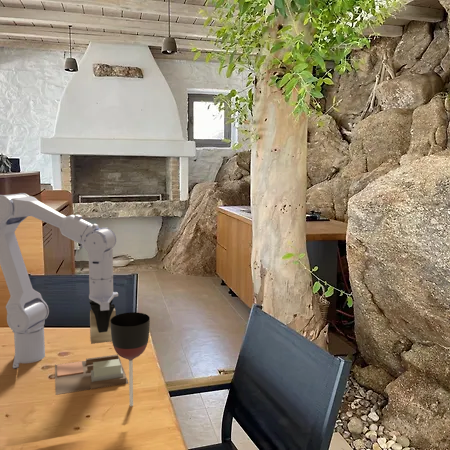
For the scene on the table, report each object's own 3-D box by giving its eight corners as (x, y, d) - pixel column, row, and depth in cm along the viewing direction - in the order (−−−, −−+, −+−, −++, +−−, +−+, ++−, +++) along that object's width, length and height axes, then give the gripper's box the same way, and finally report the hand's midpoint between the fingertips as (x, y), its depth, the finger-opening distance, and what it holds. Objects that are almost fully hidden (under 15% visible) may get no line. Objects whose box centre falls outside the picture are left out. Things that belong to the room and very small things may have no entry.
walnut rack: (55, 368, 115) (54, 360, 114) (118, 359, 120) (118, 351, 120) (55, 398, 100) (55, 389, 100) (128, 387, 106) (128, 378, 105)
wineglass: (152, 399, 101) (152, 312, 98) (147, 420, 92) (146, 326, 89) (116, 399, 100) (115, 312, 98) (108, 421, 92) (106, 326, 89)
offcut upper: (93, 370, 107) (92, 362, 107) (118, 366, 110) (118, 358, 109) (94, 377, 104) (94, 368, 104) (120, 373, 106) (120, 365, 106)
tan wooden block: (90, 340, 114) (89, 309, 113) (114, 337, 116) (114, 307, 115) (91, 343, 112) (90, 312, 111) (115, 341, 114) (115, 310, 113)
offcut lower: (91, 378, 108) (90, 370, 107) (120, 373, 110) (120, 366, 110) (92, 386, 104) (92, 377, 104) (123, 381, 106) (123, 373, 106)
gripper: (121, 283, 107) (122, 338, 109) (113, 269, 120) (114, 318, 122) (90, 285, 104) (92, 341, 106) (86, 271, 118) (87, 321, 119)
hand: (102, 329), depth 114 cm, fingers closed on tan wooden block, 2 cm apart
